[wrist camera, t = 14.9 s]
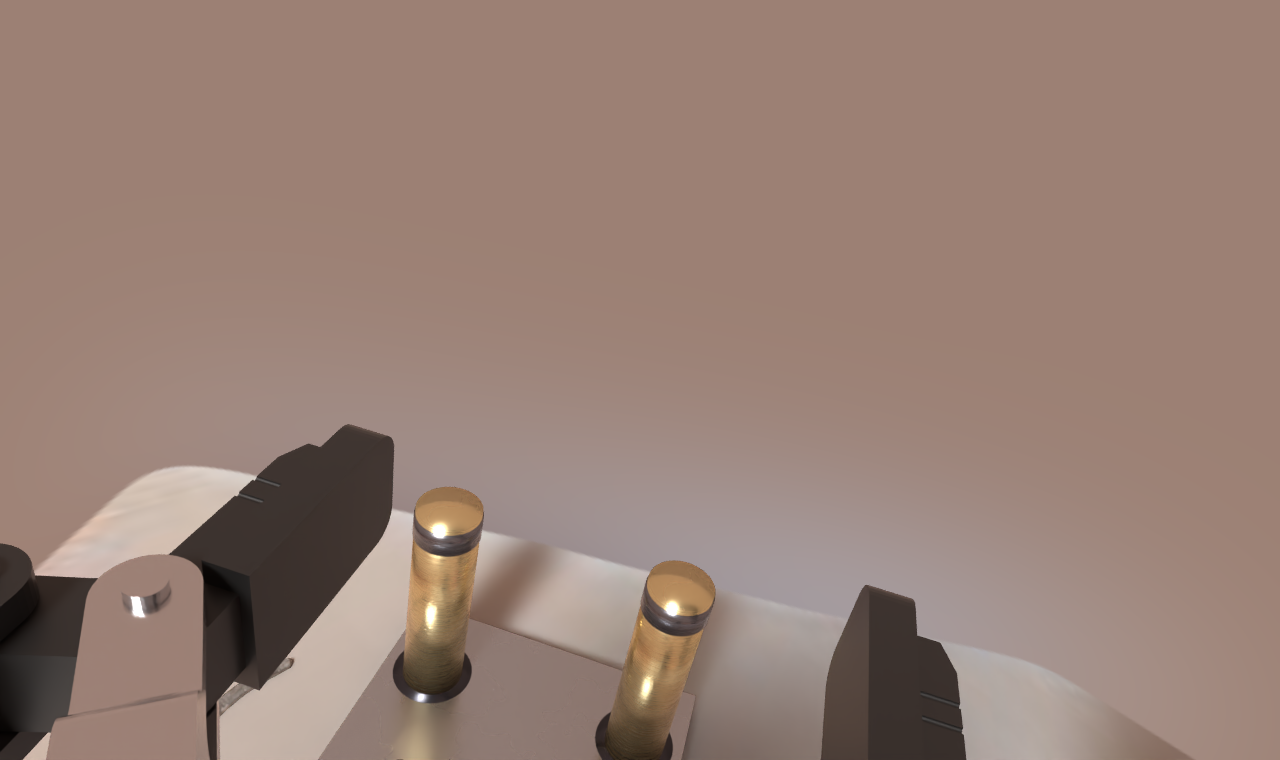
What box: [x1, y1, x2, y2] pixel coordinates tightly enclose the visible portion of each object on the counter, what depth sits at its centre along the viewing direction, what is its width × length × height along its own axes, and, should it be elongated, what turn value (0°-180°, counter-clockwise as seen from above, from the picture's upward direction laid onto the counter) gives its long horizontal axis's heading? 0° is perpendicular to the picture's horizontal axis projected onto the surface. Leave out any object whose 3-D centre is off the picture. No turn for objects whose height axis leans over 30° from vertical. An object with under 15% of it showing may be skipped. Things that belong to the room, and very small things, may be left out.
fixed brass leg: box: [403, 487, 484, 695], centre depth 40 cm, size 3×3×11 cm
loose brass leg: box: [605, 561, 715, 760], centre depth 39 cm, size 3×3×11 cm
